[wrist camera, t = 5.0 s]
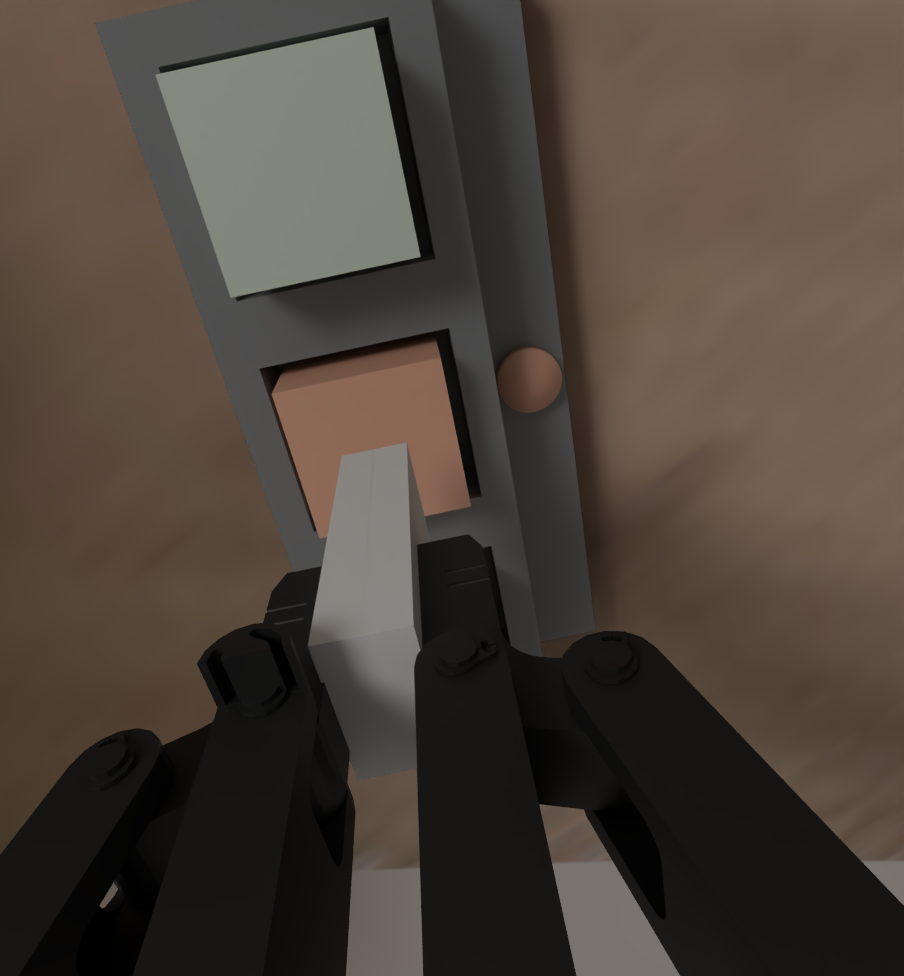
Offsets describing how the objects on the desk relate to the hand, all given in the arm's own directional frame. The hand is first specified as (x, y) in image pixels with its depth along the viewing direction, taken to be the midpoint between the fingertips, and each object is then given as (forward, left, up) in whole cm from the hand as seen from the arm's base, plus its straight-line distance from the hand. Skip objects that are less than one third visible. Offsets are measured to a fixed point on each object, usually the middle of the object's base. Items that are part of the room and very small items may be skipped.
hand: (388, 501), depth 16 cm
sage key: (0, -7, -5) cm, 9 cm away
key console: (-1, 0, -8) cm, 8 cm away
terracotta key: (0, 0, -6) cm, 6 cm away
